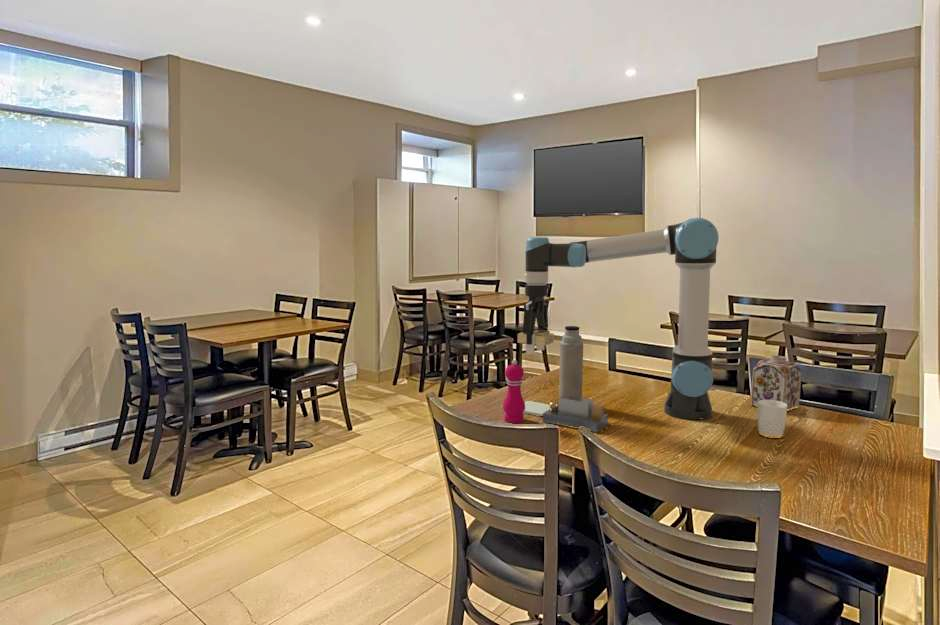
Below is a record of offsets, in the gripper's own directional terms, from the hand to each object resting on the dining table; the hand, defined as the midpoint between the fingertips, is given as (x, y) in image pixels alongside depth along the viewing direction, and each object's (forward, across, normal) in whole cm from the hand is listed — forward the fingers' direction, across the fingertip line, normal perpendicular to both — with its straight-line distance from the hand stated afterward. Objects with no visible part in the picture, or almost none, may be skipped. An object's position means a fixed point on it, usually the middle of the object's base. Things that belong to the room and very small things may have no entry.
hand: (535, 351), depth 200 cm
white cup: (+21, -16, +71) cm, 76 cm away
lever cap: (-3, 0, 0) cm, 3 cm away
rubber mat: (+20, 0, 0) cm, 20 cm away
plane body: (+20, +5, +17) cm, 27 cm away
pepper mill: (+21, +13, -1) cm, 24 cm away
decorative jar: (+21, -48, +69) cm, 87 cm away
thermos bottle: (+21, -12, +8) cm, 25 cm away
